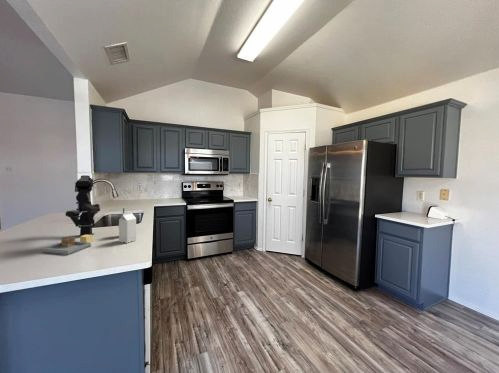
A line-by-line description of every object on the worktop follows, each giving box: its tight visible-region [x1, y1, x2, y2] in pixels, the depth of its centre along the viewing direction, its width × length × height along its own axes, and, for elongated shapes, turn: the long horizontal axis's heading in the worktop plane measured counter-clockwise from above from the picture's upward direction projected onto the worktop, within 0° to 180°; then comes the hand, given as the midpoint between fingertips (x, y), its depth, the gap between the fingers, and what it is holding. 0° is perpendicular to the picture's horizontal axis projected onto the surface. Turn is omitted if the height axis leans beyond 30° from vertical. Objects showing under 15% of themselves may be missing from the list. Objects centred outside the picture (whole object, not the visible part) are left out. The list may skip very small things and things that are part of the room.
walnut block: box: [60, 236, 76, 247], centre depth 129 cm, size 4×4×4 cm
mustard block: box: [79, 235, 94, 243], centre depth 138 cm, size 4×4×4 cm
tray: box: [42, 240, 92, 256], centre depth 125 cm, size 14×16×2 cm
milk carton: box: [118, 211, 137, 244], centre depth 143 cm, size 7×7×19 cm
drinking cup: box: [117, 207, 125, 225], centre depth 153 cm, size 8×8×20 cm
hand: (84, 224), depth 137 cm, fingers open, 9 cm apart
